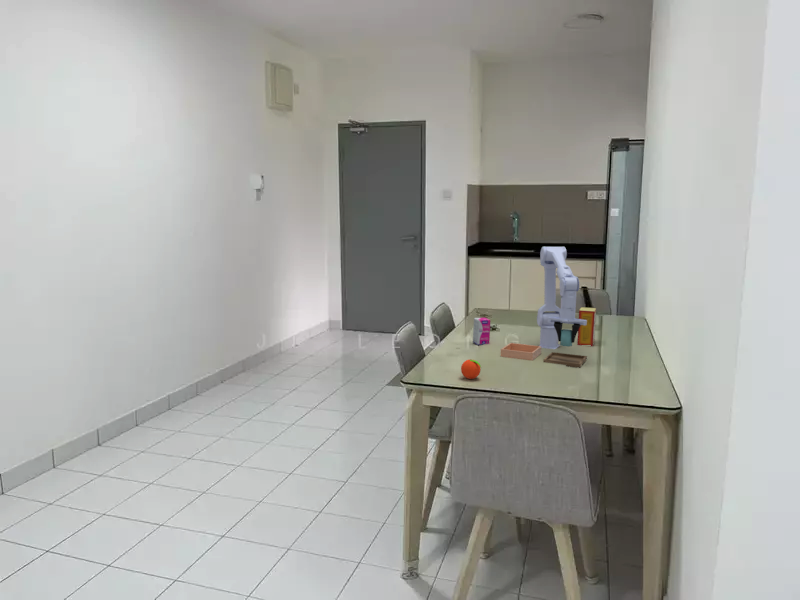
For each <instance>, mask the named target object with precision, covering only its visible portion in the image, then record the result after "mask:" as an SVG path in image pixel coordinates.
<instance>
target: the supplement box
mask: <svg viewBox="0 0 800 600" xmlns="http://www.w3.org/2000/svg"><path fill="white" fill-rule="evenodd" d="M490 334H491V319H490V318H487V317H474V318H473V333H472V344H474V343H475V345H476V346H483V345H490V336H491V335H490Z"/></svg>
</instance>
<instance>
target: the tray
mask: <svg viewBox="0 0 800 600" xmlns="http://www.w3.org/2000/svg"><path fill="white" fill-rule="evenodd" d="M586 359H587V360H588V356H587V355H580V354H572V353H571V354H570V353H563V352H554V351H552V352H551V353H550V354H548V355H547V356H546V357H545V358H543V360H542V361H543V363H547V364H556V365H561V366H562V365H563V366H565V367H569V366H570V367H569V368H577V367H579V368H581V367H582V366H583V365H584V364H585V363H586V361H587V360H586ZM583 363H584V364H583ZM582 364H583V365H582ZM581 365H582V366H581Z"/></svg>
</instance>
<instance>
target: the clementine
mask: <svg viewBox="0 0 800 600" xmlns="http://www.w3.org/2000/svg"><path fill="white" fill-rule="evenodd" d="M481 370H482V367H481V364H480V362H478V361H477V360H475V359H466V360H465V361H464V362H463V363H462V364H461V367H460V371H461V374H462V376H463V377H464V378H465V379H468V380H473V379H476V378H478V376H479V375H480V374H481Z"/></svg>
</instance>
